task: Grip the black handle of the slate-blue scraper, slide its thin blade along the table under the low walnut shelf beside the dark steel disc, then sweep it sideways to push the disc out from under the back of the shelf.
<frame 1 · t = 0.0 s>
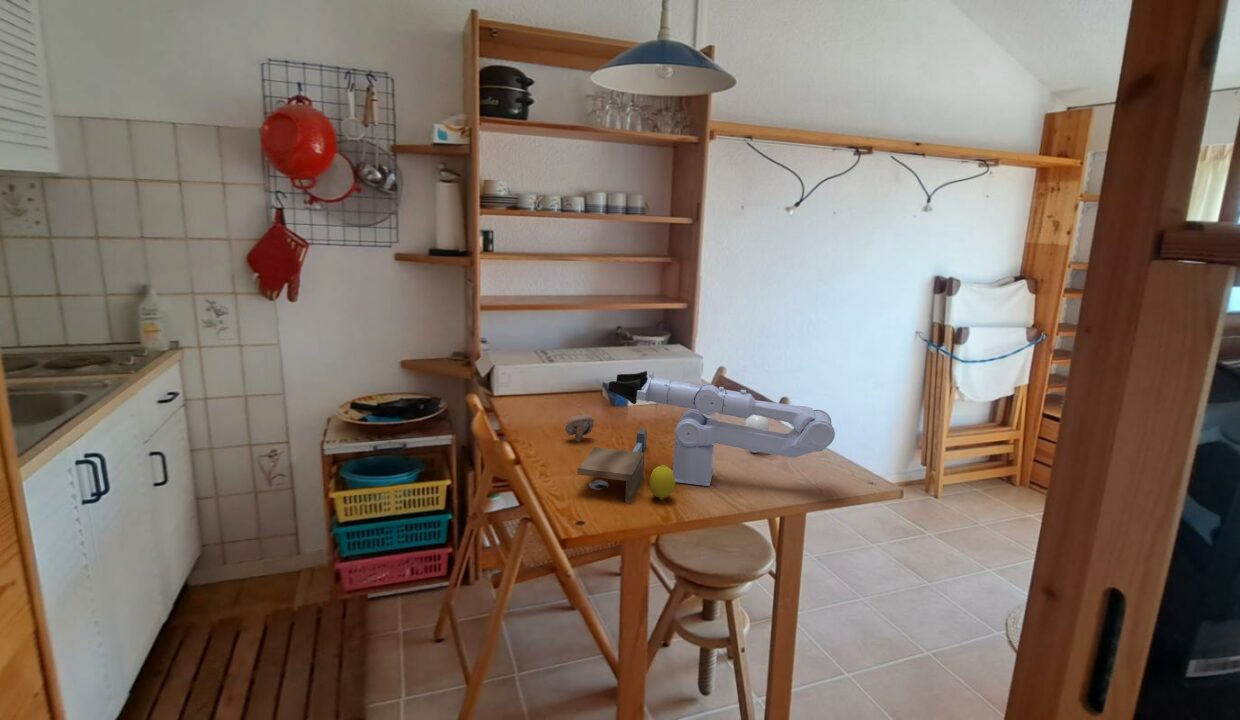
hand: (613, 382, 152), 22 cm above the table, tool horizontal, fingers open, 7 cm apart
mushroom: (579, 441, 175), on the table
shelf: (611, 487, 145), on the table
lightbulb: (754, 453, 171), on the table
lemon: (661, 500, 140), on the table
scraper: (641, 449, 171), on the table
token: (598, 487, 146), on the table
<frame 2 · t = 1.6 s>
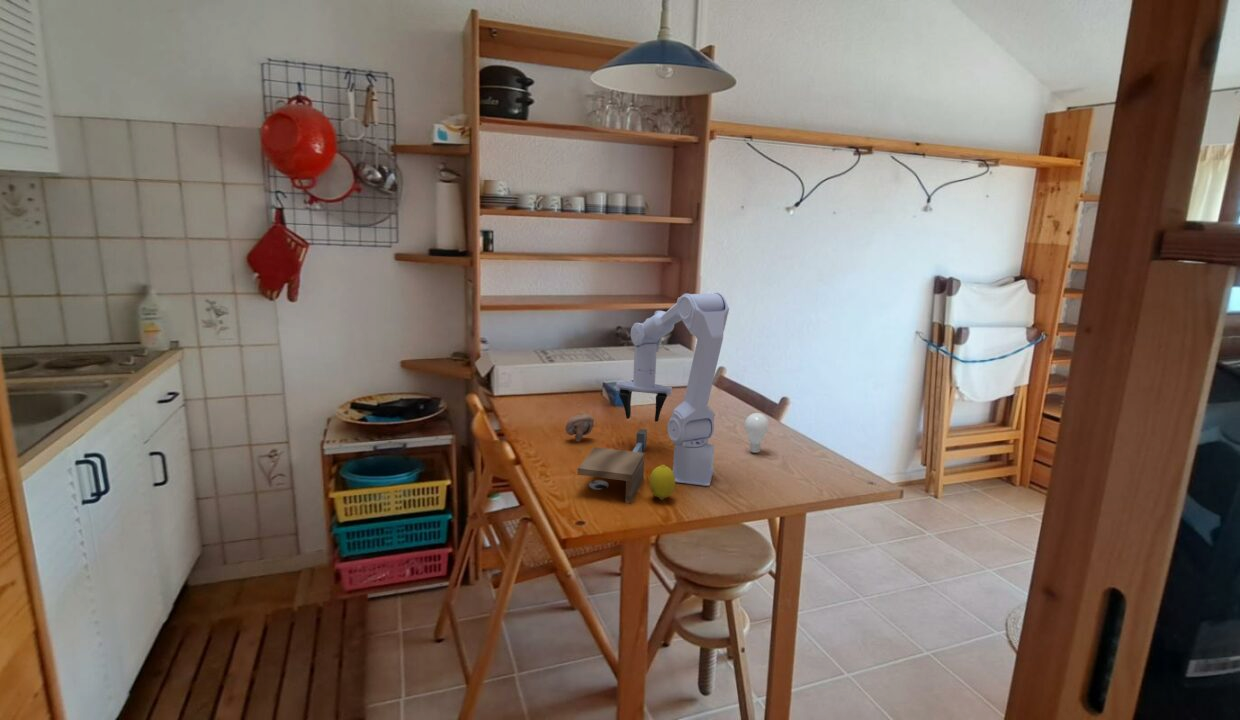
hand: (642, 419, 169), 8 cm above the table, tool pointing down, fingers open, 7 cm apart
nothing on the table moved.
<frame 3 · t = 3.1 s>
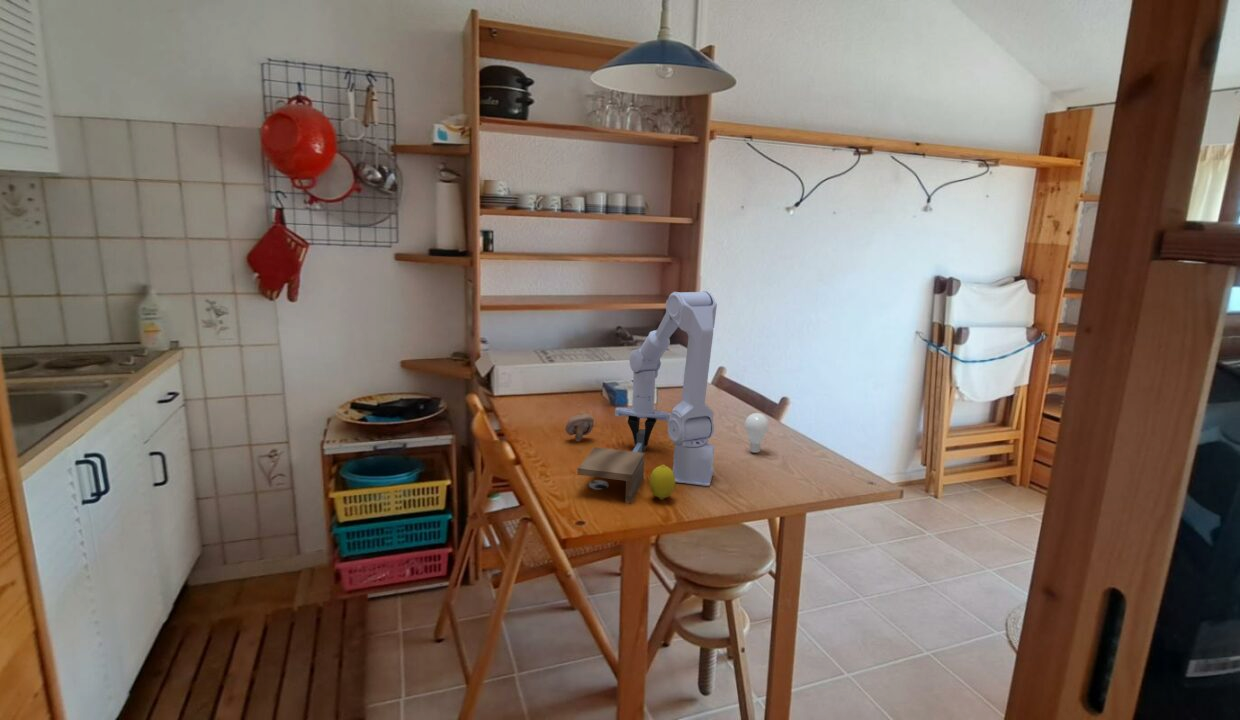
hand: (641, 444, 170), 1 cm above the table, tool pointing down, fingers closed on scraper, 2 cm apart
scraper: (641, 449, 171), on the table, touching gripper
everything else where it was.
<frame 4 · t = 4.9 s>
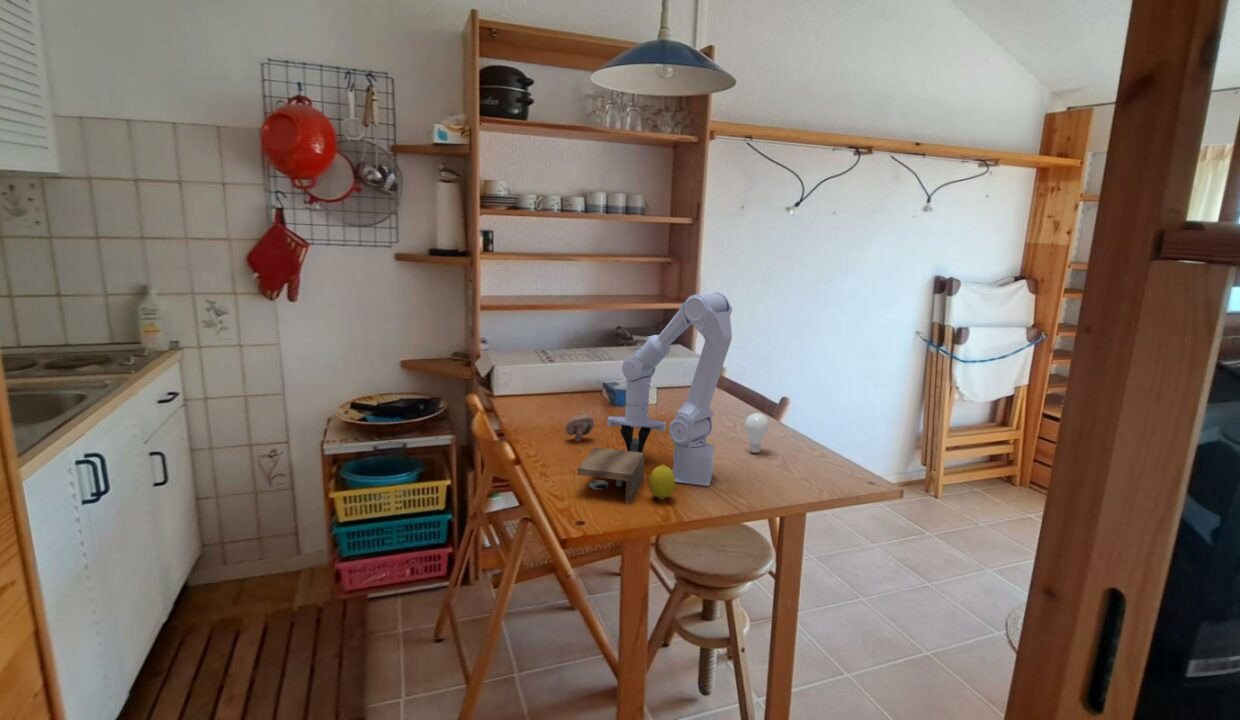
hand: (635, 454, 162), 1 cm above the table, tool pointing down, fingers closed on scraper, 2 cm apart
scraper: (635, 459, 163), on the table, touching gripper
everything else where it was.
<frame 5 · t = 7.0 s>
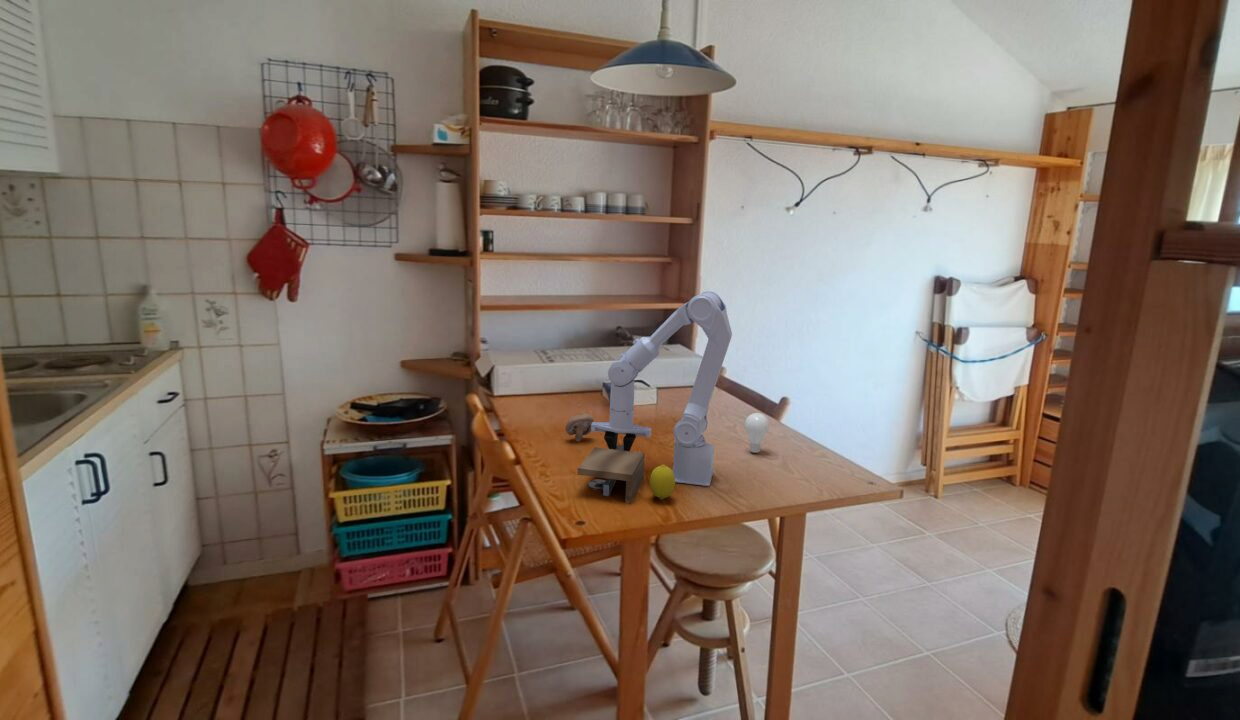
hand: (619, 461, 157), 1 cm above the table, tool pointing down, fingers closed on scraper, 2 cm apart
scraper: (620, 466, 158), on the table, touching gripper, token
token: (598, 486, 146), on the table, touching scraper
everything else where it was.
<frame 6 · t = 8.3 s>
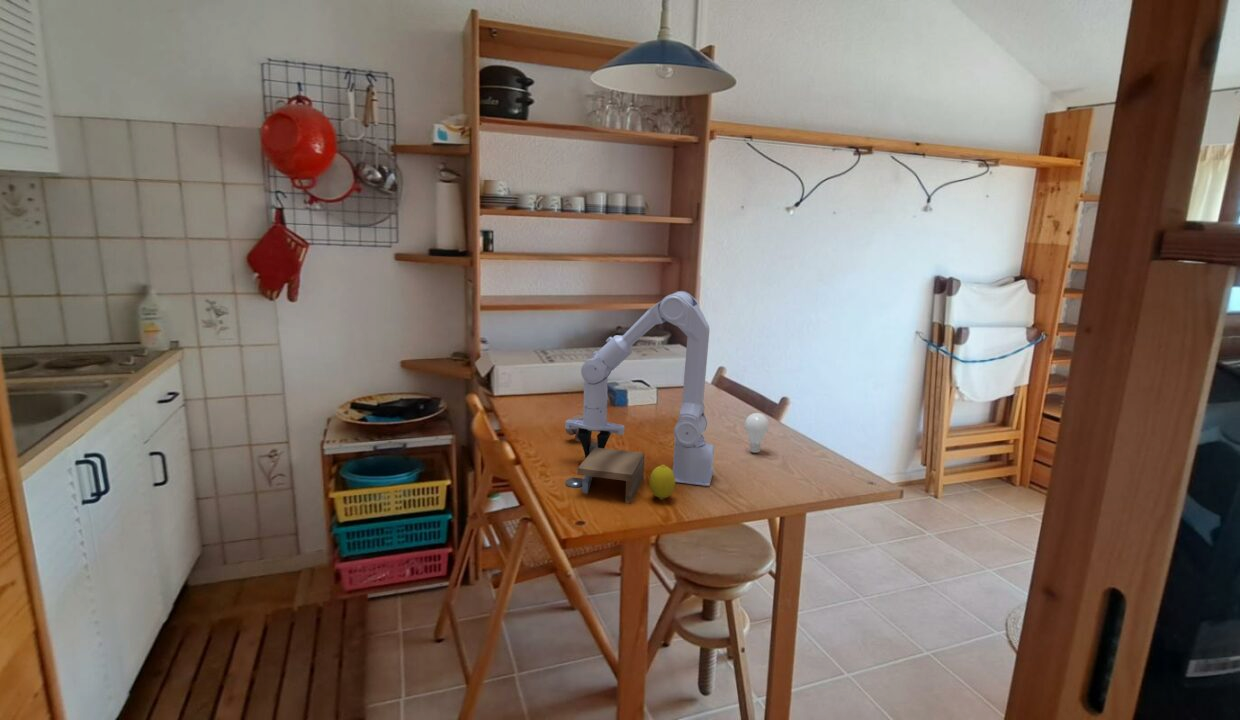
hand: (593, 458, 158), 1 cm above the table, tool pointing down, fingers closed on scraper, 2 cm apart
scraper: (593, 463, 159), on the table, touching gripper
token: (575, 484, 146), on the table
everything else where it was.
when the fingers open (1 cm above the table, at t = 9.6 s): scraper stays where it is, on the table.
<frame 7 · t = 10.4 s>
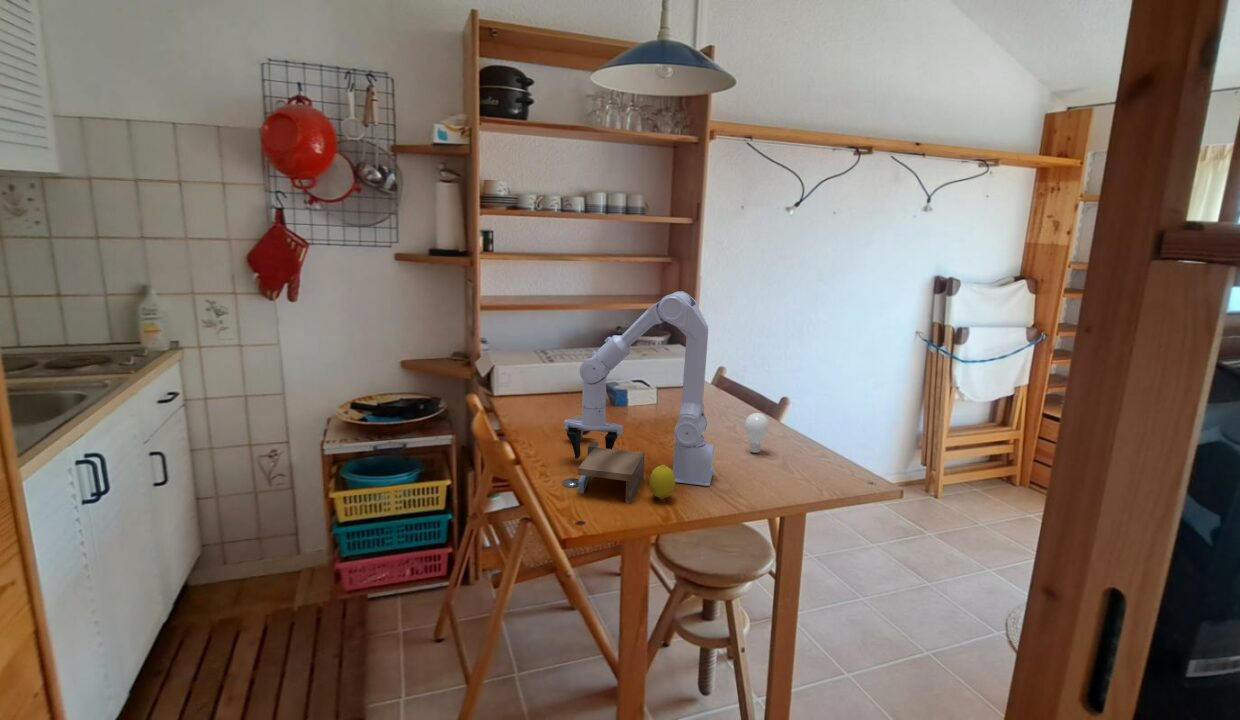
hand: (592, 458, 159), 1 cm above the table, tool pointing down, fingers open, 7 cm apart
scraper: (592, 463, 159), on the table
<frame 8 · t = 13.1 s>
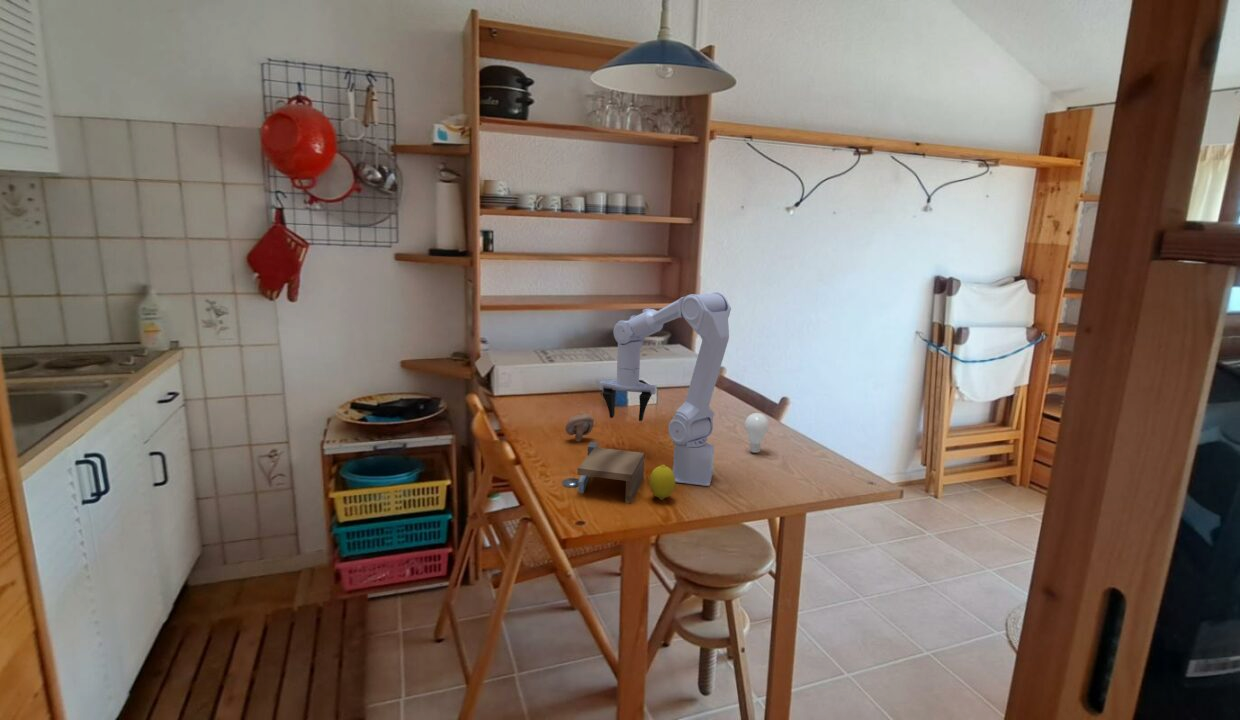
hand: (626, 418, 166), 9 cm above the table, tool pointing down, fingers open, 7 cm apart
nothing on the table moved.
at the end: token inside the target area (4.9 cm from its centre), on the table; token on the table; token moved 6.2 cm from its start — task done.
